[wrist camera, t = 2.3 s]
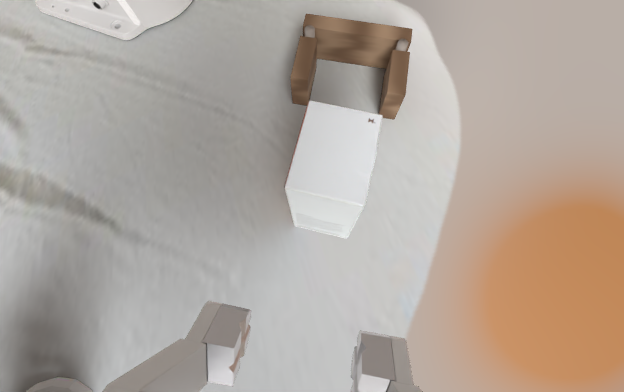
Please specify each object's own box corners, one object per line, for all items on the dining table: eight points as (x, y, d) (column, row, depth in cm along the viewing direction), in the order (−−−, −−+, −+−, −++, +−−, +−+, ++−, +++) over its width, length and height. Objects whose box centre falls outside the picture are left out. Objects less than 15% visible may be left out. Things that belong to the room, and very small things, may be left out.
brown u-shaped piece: (292, 103, 41) (290, 73, 36) (306, 44, 44) (305, 9, 39) (394, 119, 40) (406, 91, 35) (401, 58, 43) (413, 24, 38)
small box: (309, 163, 39) (308, 97, 26) (361, 174, 38) (385, 113, 26) (292, 227, 36) (282, 188, 24) (347, 240, 36) (367, 207, 23)
